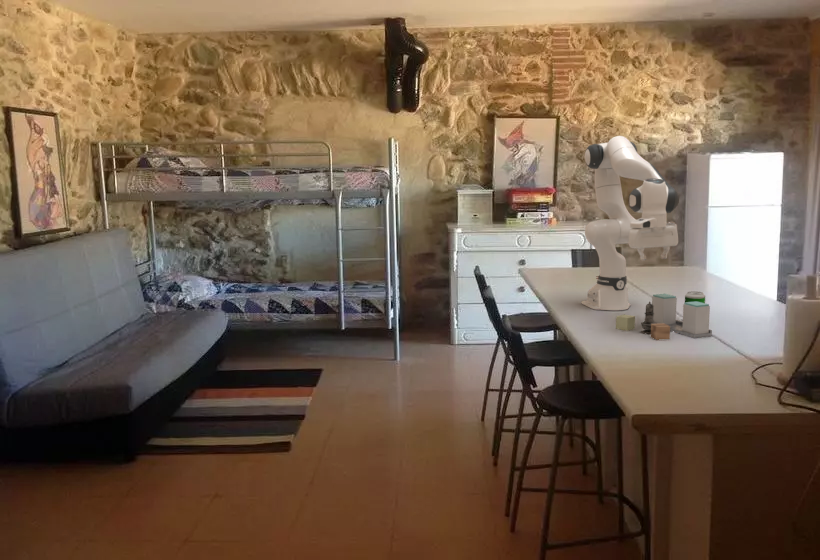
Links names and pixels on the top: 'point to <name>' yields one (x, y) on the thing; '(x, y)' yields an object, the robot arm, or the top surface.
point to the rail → (678, 328)
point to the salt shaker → (648, 319)
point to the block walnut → (660, 331)
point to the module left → (664, 308)
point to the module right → (696, 317)
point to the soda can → (695, 297)
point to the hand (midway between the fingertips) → (653, 259)
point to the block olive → (625, 322)
